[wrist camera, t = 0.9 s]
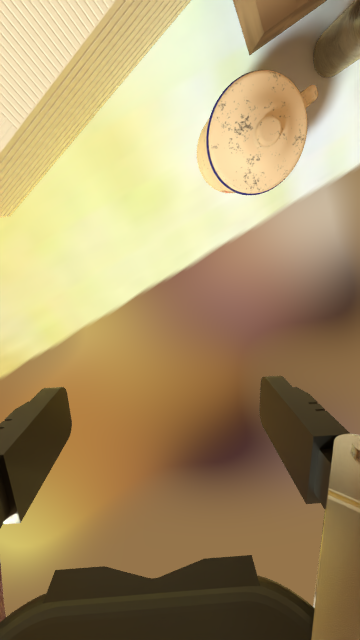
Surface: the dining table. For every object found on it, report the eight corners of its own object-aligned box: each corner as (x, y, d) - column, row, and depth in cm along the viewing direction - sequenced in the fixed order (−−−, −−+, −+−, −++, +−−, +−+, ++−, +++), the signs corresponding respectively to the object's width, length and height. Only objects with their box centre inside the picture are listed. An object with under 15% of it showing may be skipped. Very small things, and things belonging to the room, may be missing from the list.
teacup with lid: (218, 210, 32) (246, 217, 22) (179, 140, 29) (190, 109, 18) (301, 148, 30) (377, 124, 20) (271, 63, 26) (344, -23, 16)
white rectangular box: (128, -185, 19) (98, -567, 10) (210, -21, 23) (245, -172, 14) (-78, 136, 27) (-209, 103, 17) (11, 215, 31) (-55, 225, 21)
